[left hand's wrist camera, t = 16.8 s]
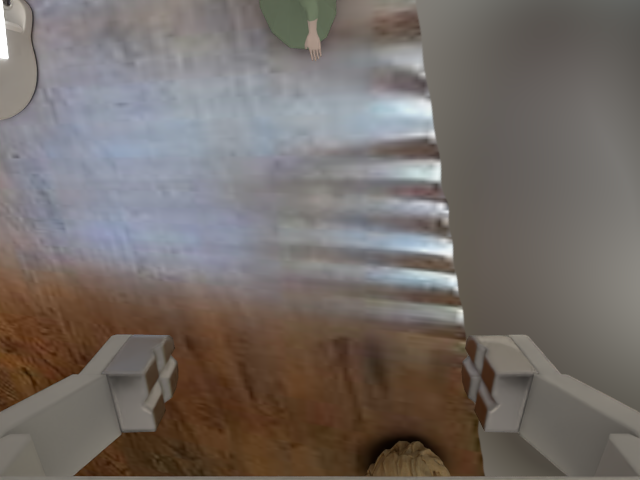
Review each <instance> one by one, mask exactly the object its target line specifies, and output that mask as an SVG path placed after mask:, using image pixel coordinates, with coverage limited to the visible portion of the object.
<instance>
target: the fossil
mask: <svg viewBox="0 0 640 480" xmlns="http://www.w3.org/2000/svg"><path fill="white" fill-rule="evenodd" d="M364 477H451V476H450V473H449V471H448V469H447V468H446V467H445V466H444V465H443V462H442V461H441V459H440V458H439V457H438V456H437V455H435V454H434V453H433V452H432V451H431V450H430V449H427V448H425V447H424V446H423V444H422V443H420V442H419V441H414V442H412V443H408V442H407V441H399V442H397V443H396V444H395V445H394V446H393V447H392V448H391V449H385V450H384V451H383V452H382V453H381V454H380V456H379V457H378V458H377V460H376V462H375V463H374V464H371V465H370V467H369V469H368V471H367V474H366V475H365V476H364Z"/></svg>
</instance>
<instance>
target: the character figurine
mask: <svg viewBox="0 0 640 480" xmlns="http://www.w3.org/2000/svg"><path fill="white" fill-rule="evenodd" d="M259 3H260V8H261V10H262V13H263V15H264V17H265V19H266V21H267V23H268V25H269V27H270V29H271V31H272V33H273V34H274V35H276V36H277V37H278V38H279V39H280V40H281V41H282V42H284V43H285V44H286V45H287V46H288V47H290V48H299V49H309V51H310V54H311V59H312V61H313V54H314V59H315V61H316V54H317V58H318V59H319V54H320V57H321V56H322V55H321V43H320V42H321V41H322V40H324V39H325V38H326V37H327V35H328V33H329V30H330V28H331V25H332V23H333V20H334V18H335V15H336V0H259ZM315 50H316V54H315ZM318 50H319V54H318ZM312 51H313V54H312Z"/></svg>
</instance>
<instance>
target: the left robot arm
mask: <svg viewBox="0 0 640 480" xmlns="http://www.w3.org/2000/svg"><path fill="white" fill-rule="evenodd" d="M7 1H8V0H0V120H4V119H8V118H10V117H13V116H15V115H17V114H18V113H20V112H21V111H22V110H23V109H24V108H25V107H26V106H27V105H28V103H29V102H30V100H31V98H32V96H33V94H34V91H35V87H36V82H37V65H36V59H35V55H34V51H33V47H32V42H31V30H32V20H33V18H32V11H31V8H30V6H29V5H28V4H27V3H26V2H25V1H24V0H10V6H9V5H8V3H7ZM174 349H175V347H174V342H173V338H172V337H171V336H169V335H114V336H111V337H110V339H109V340H108V341H107V342H106V343H105V344H104V346H103V347H102V348H101V349H100V350H99V351H98V352H97V354H96V355H95V356H94V357H93V358H92V359H91V361H90V362H89V363H88V364H87V365H86V366H85V368H84V369H83V370H82V371H81V372H80V373H79V374H73V375H71V376H69V377H67V378H65V379H63V380H61V381H59V382H57V383H55V384H53V385H51V386H50V387H48V388H46V389H44V390H42V391H40V392H38V393H36V394H34V395H32V396H30V397H28V398H26V399H25V400H23V401H21V402H19V403H17V404H15V405H13V406H11V407H9V408H7V409H5V410H3V411H2V412H0V480H640V412H638V411H636V410H634V409H633V408H631V407H629V406H627V405H625V404H623V403H621V402H619V401H617V400H615V399H613V398H611V397H610V396H608V395H606V394H604V393H602V392H600V391H598V390H596V389H594V388H592V387H590V386H588V385H587V384H585V383H583V382H581V381H579V380H577V379H575V378H573V377H571V376H569V375H567V374H560V372H559V371H558V370H557V369H556V368H555V366H554V365H553V364H552V363H551V362H550V361H549V360H548V358H547V357H546V356H545V355H544V354H543V353H542V351H541V350H540V349H539V348H538V347H537V346H536V344H535V343H534V342H533V341H532V340H531V339H530V337H528V336H526V335H524V334H523V335H506V336H469V337H468V339H467V341H466V347H465V349H466V351H467V353H468V354H469V356H468V357H467V358H466V359H465V360H464V361H463V365H462V382H463V386H464V389H465V392H466V394H467V396H468V398H470V399H471V400H472V401H474V402H475V403H476V405H475V410H474V411H475V413H476V415H477V417H478V419H479V421H480V423H481V425H482V427H483V429H484V431H486V432H519V435H520V436H521V437H523V438H524V439H525V440H526V441H527V442H528V443H530V444H531V445H532V446H533V447H534V448H535V449H537V450H538V451H539V452H540V453H541V454H542V455H544V456H545V457H546V458H547V459H548V460H549V461H550V462H552V463H553V464H554V465H555V466H556V467H557V468H559V469H560V470H561V471H562V472H563V473H564V474H566V475H567V476H568V477H353V476H216V477H102V476H73V475H75V474H76V473H77V472H78V471H79V470H80V469H82V468H83V467H84V466H85V465H86V464H87V463H89V462H90V461H91V460H92V459H93V458H94V457H96V456H97V455H98V454H99V453H100V452H101V451H102V450H104V449H105V448H106V447H107V446H108V445H109V444H111V443H112V442H113V441H114V440H115V439H116V438H118V437H119V436H120V435H121V432H153V431H156V429H157V427H158V425H159V423H160V421H161V419H162V417H163V415H164V413H165V411H166V410H165V405H164V403H165V402H166V401H168V400H169V399H170V398H172V396H173V394H174V392H175V390H176V386H177V381H178V364H177V361H176V360H175V359H174V358H173V357H172V356H171V354H172V353H173V351H174Z"/></svg>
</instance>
